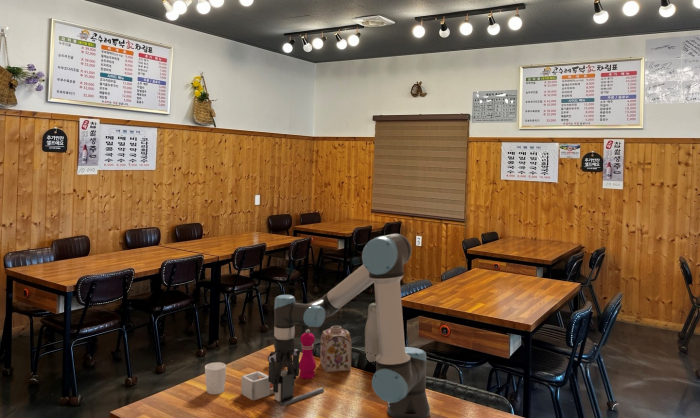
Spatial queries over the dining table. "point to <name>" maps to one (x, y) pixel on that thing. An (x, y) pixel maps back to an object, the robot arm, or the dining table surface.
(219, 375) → the white cup
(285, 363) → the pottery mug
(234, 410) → the dining table surface
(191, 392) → the dining table surface
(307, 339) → the pepper mill
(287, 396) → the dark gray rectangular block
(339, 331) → the decorative jar
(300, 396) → the rail
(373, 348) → the pale grey bottle
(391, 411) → the robot arm
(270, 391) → the lane boards
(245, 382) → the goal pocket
